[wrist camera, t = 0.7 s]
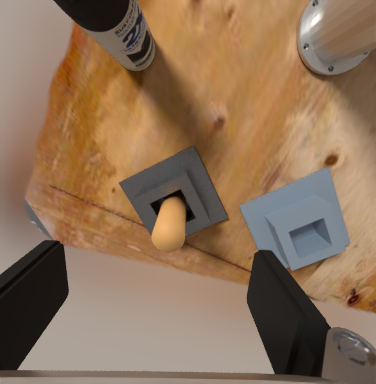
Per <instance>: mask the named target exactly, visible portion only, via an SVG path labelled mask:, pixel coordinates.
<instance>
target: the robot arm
mask: <svg viewBox="0 0 376 384" xmlns="http://www.w3.org/2000/svg"><path fill="white" fill-rule="evenodd" d="M297 47H298V51H299V54H300V57H301V59H302V61H303V62H304V63H305V65H306V66H307V67H308V68H309V69H310V70H312V71H313V72H315V73H317V74H321V75H327V76H332V75H337V74H341V73H344V72H346V71H348V70H351V69H353V68H354V67H356V66H357V65H358V64H360V63H361V62H362V61H363V60H364V59H365V58H366V57H367V56H368V54H369V53H370V52H371V51H372V50H373V49H375V48H376V0H310V1H309V3H308V4H307V6H306V8H305V9H304V11H303V13H302V16H301V18H300V21H299V25H298V30H297ZM304 48H305V49H304ZM328 69H329V70H328ZM68 293H69V289H68V280H67V270H66V262H65V252H64V245H63V244H61V243H60V241H55V240H45V241H43V242H41V243H40V244H39V245H38V246H36V247H35V248H34V249H33V250H31V251H30V252H29V253H28V254H26V255H25V256H24V257H22V258H21V259H20V260H18V261H17V262H16V263H15V264H13V265H12V266H11V267H9V268H8V269H7V270H6V271H4V272H3V273H2V274H1V275H0V384H376V349H375V348H374V347H373V346H372V345H371V344H370V343H369V342H368V341H366V340H365V339H364V338H363V337H361V336H360V335H358V334H356V333H354V332H352V331H350V330H347V329H344V328H340V327H335V328H331V327H330V326H329V325H328V323H327V322H326V319H325V318H324V317H323V315H322V314H321V313H320V312H319V310H318V309H317V308H316V306H315V305H314V304H313V303H312V301H311V300H310V299H309V297H308V296H307V295H306V294H305V292H304V291H303V290H302V288H301V287H300V286H299V285H298V283H297V282H296V281H295V279H294V278H293V277H292V276H291V274H290V273H289V272H288V271H287V269H286V268H285V267H284V265H283V264H282V263H281V262H280V260H279V259H278V258H277V256H276V255H275V254H274V253H273V251H272V250H259V251H258V252H256V253H255V254H254V259H253V265H252V270H251V276H250V281H249V287H248V293H247V304H248V306H249V309H250V311H251V314H252V317H253V319H254V321H255V324H256V327H257V329H258V332H259V334H260V337H261V340H262V342H263V345H264V347H265V350H266V352H267V355H268V357H269V360H270V363H271V365H272V368H273V370H274V373H275V374H257V373H211V372H210V373H208V372H148V371H143V372H142V371H41V370H38V371H37V370H33V371H32V370H17V369H18V368H19V366H20V365H21V363H22V362H23V360H24V359H25V357H26V356H27V355H28V353H29V352H30V350H31V349H32V347H33V346H34V345H35V343H36V342H37V340H38V339H39V337H40V336H41V335H42V333H43V331H44V330H45V329H46V327H47V326H48V324H49V323H50V322H51V320H52V319H53V317H54V316H55V314H56V313H57V312H58V310H59V308H60V307H61V306H62V304H63V303H64V301H65V300H66V298H67V296H68Z"/></svg>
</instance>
